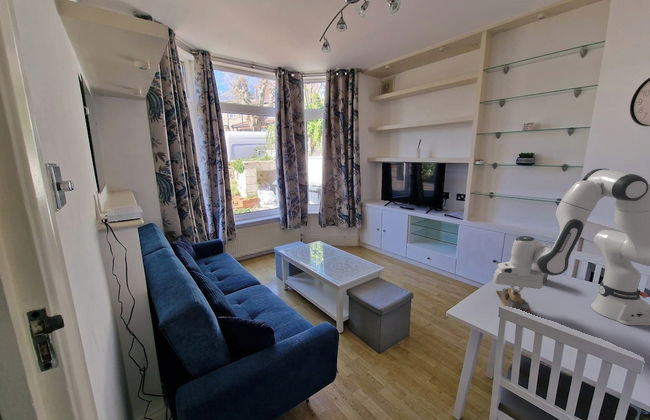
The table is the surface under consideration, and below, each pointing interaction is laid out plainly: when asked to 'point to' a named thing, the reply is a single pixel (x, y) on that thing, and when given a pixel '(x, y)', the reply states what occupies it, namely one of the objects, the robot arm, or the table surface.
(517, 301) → the golden brown block
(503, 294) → the cap board
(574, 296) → the table surface
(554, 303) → the table surface
